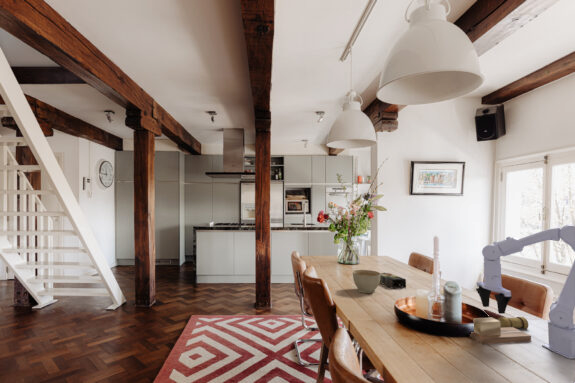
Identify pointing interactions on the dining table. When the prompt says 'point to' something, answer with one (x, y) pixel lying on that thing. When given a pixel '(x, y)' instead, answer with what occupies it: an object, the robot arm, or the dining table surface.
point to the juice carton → (392, 280)
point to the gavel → (509, 321)
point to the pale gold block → (487, 326)
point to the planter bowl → (366, 280)
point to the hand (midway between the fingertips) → (493, 309)
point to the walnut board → (503, 336)
